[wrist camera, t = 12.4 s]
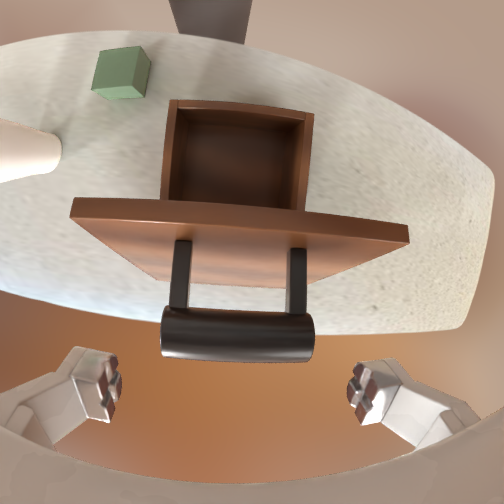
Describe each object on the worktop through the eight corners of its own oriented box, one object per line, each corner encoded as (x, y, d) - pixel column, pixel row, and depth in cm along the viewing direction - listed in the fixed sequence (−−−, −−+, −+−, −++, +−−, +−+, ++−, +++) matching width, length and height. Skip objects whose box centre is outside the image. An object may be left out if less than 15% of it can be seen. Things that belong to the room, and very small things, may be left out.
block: (114, 64, 26) (100, 50, 21) (151, 61, 27) (140, 45, 22) (107, 99, 27) (90, 89, 22) (144, 97, 28) (132, 85, 23)
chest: (183, 118, 29) (169, 99, 21) (291, 128, 31) (314, 113, 22) (173, 249, 33) (157, 274, 25) (277, 256, 35) (294, 283, 26)
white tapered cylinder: (30, 138, 27) (-45, 132, 12) (66, 121, 27) (-9, 103, 13) (34, 184, 29) (-43, 196, 14) (70, 170, 29) (-8, 175, 15)
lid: (73, 196, 8) (54, 348, 7) (408, 224, 10) (411, 361, 9) (157, 271, 24) (153, 330, 23) (295, 280, 26) (293, 338, 25)
